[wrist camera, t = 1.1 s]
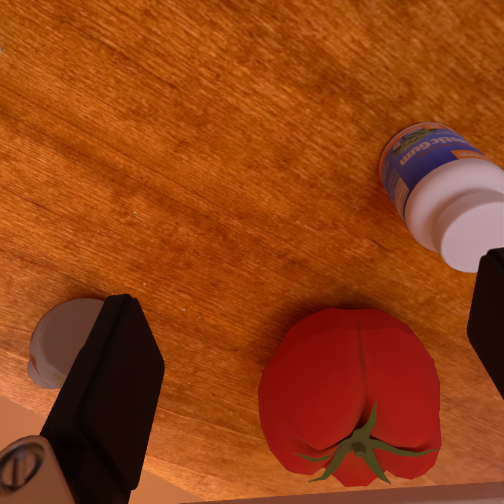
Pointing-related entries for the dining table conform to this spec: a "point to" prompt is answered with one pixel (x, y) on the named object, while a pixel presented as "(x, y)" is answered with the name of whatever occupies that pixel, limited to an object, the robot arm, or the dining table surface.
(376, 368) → the tomato
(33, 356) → the white floral vase
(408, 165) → the pill bottle
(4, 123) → the dining table surface
